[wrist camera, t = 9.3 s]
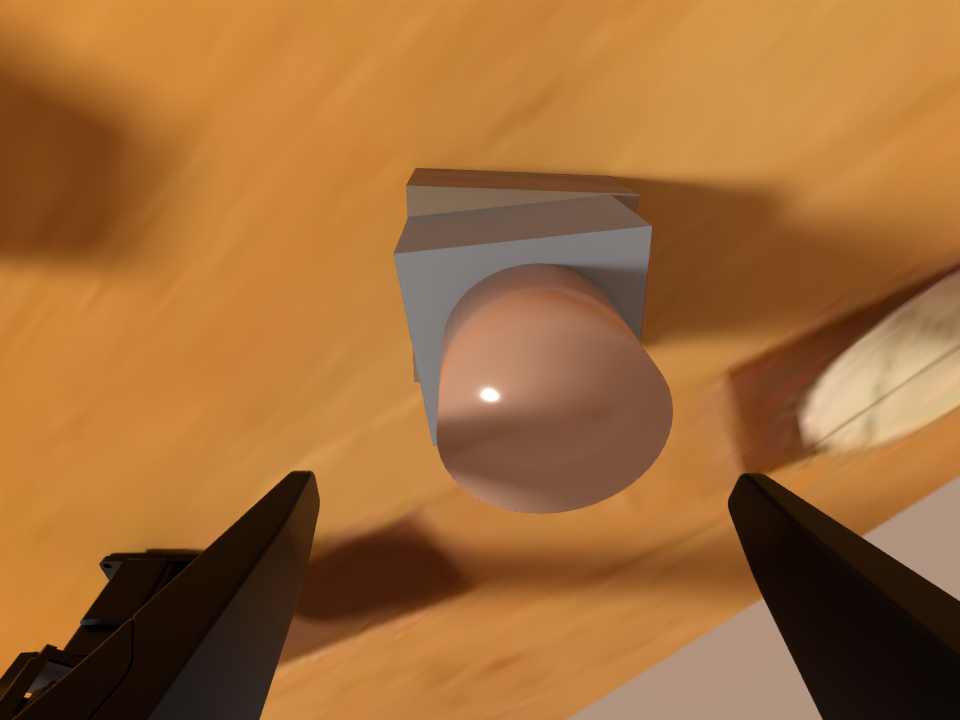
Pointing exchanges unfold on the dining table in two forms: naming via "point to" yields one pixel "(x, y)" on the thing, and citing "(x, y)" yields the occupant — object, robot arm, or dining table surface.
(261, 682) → the robot arm
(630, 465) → the brown rounded cylinder
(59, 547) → the dining table surface
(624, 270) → the grey top block
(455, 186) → the walnut base block
